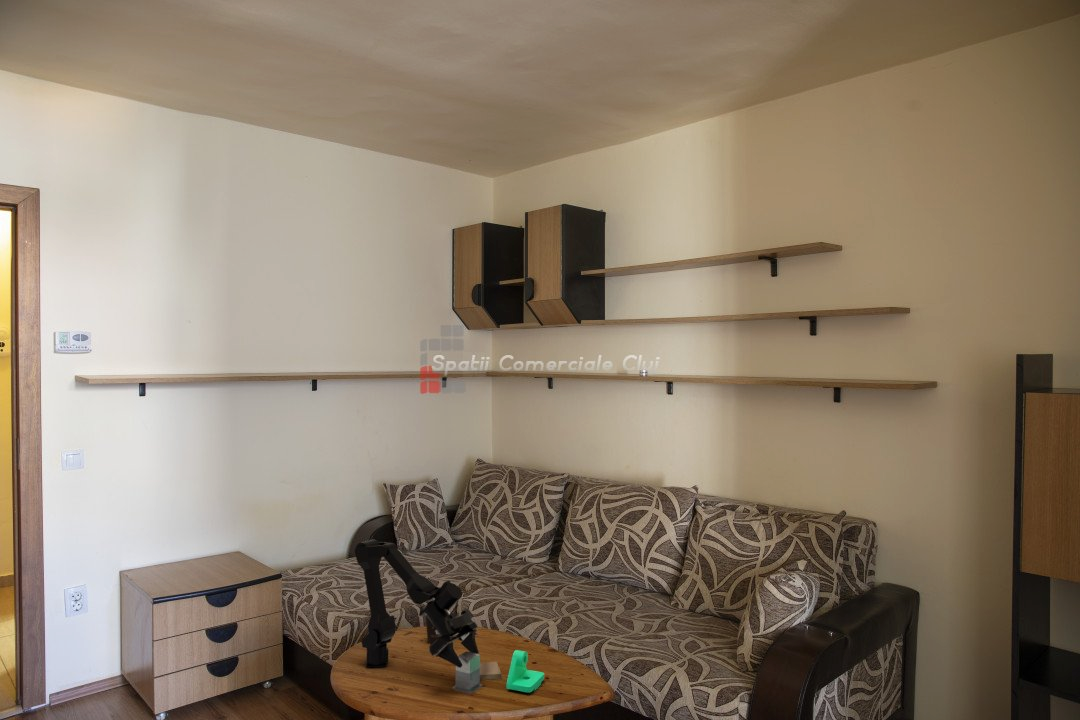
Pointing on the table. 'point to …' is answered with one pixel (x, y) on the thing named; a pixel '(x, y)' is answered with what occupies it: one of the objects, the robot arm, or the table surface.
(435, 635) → the coffee mug
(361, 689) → the table surface
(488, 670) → the stand
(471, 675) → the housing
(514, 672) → the camera mount
